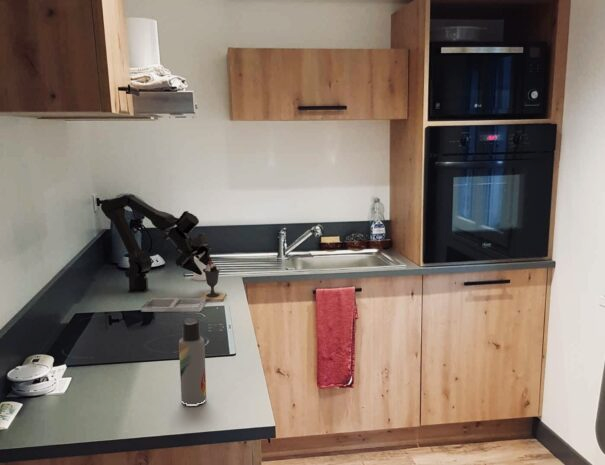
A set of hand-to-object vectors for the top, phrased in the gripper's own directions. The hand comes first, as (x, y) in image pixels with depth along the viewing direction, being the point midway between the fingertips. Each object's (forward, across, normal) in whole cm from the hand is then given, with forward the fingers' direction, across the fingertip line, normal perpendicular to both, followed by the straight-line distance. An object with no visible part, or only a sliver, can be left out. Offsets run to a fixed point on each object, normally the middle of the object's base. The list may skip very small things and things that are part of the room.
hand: (207, 271), depth 208 cm
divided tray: (+3, -14, +11) cm, 19 cm away
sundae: (+8, 0, +5) cm, 10 cm away
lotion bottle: (+34, -75, -20) cm, 85 cm away
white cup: (-4, +24, +20) cm, 31 cm away
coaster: (+9, 0, +6) cm, 10 cm away
